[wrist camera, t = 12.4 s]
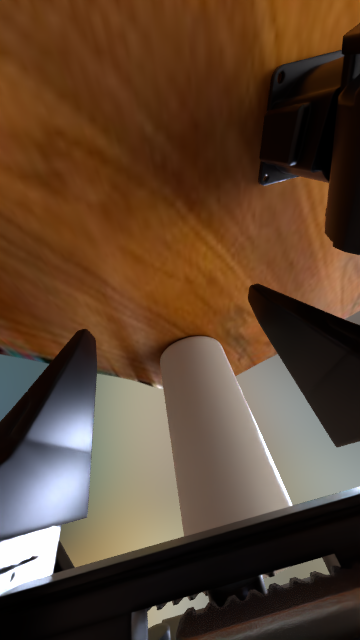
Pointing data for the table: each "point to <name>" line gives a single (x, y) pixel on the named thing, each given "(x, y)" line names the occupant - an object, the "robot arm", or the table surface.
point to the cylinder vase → (215, 440)
